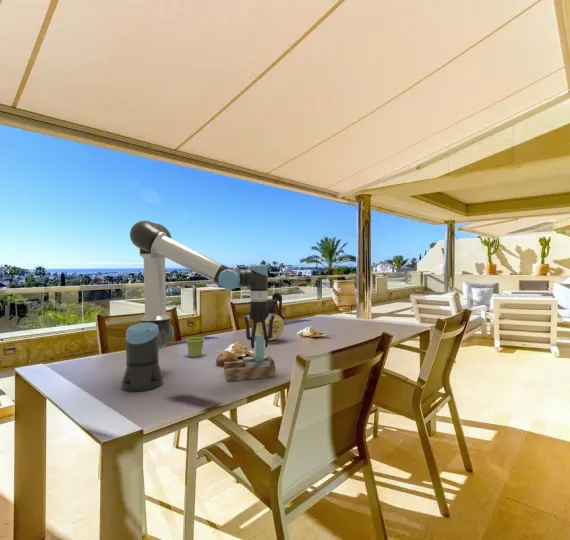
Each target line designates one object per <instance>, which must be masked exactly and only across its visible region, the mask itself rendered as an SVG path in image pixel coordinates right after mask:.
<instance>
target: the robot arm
mask: <svg viewBox="0 0 570 540" xmlns="http://www.w3.org/2000/svg"><path fill="white" fill-rule="evenodd" d="M129 238H130V241H131V242H132V244H133V245H134V246H135V247H137V248H138V249H139V256H140V257H141V258H142V259H143V283H144V284H143V287H144V289H143V290H144V316H143V317H142V318H140V322H139V323H135V324H131V325H130V326H129V327H128V328H127V329H126V333H125V348H126V349H125V353H126V355H125V357H126V358H125V359H126V363H125V365H126V367H125V370H124V373H123V377H122V379H121V389H122V390H124V391H127V392H143V391H144V392H145V391H149V390H154V389H157V388H159V387H160V386H162V385H163V384H164V374H163V372H162V369H161V366H160V364H159V362H160V361H159V357H160V356H159V351H160V350H162V349H164V348H165V347H167V346H168V345H169V344H170V343H171V342H172V340H173V337H174V334H175V330H174V327H173V325H172V324H171V318H170V316H169V315H168V314H167V296H166V295H167V294H166V293H167V290H166V287H167V286H166V259H168V260H171V261H172V262H174V263H176V264H178V265H181V266H182V267H184V268H186V269H188V270H190V271H192V272H194V273H196V274H198V275H200V276H202V277H204V278H206V279H209V280H210V281H211V282H214V283H216V284H217V285H219V286H220V287H222V288H223V289H225V290H233V289H236V288H240V287H241V288H246V287H247V288H248V287H249V300H250V302H249V310H250V311H249V313H248V314H247V315H244V316H243V320H244V322H245V333H246V334H245V335H246V339H247V340H249V341H250V348H251V349H253V350H252V351H253V352H252V354H253V355H252V356H253V357H256V340H255V336H256V334H257V333H256V331H257V329H256V326H257V323H259V322H261V324H262V330H263V335H264V356H266V348H268V344H269V343H268V339H270V338H272V328H273V320H274V318H275V316H274V315H271V314H269V312H268V302H267V301H266V300H267V299H269V295H268V294H269V292H268V290H269V289H268V288H269V287H268V286H269V283H268V282H269V281H268V279H269V274H268V266H267V265H266V264H250V265H249V268H247V269H244V268H243V269H242V268H238V269H237V268H234V269H233V268H231V267H229V266H226V265H224V264H223V263H221V262H218V261H216V260H214V259H212V258H210V257H209V256H206V255H205V254H203V253H201V252H199V251H196V250H195V249H193V248H190V247H189V246H187V245H186V244H185V245H184V244H182V243H181V242H179V241H177V240H174V239H172V234H171V232H170V230H169V229H168V228H167V227H165V226H164V225H163V224H160V223H155V222H154V221H153V222H152V221H150V220H141V221H138V222H136V223H134V224H133V225H132V226H131V228H130V230H129ZM267 317H269V328H268V336H267V331H266V325H265V320H266V319H267ZM250 318H251V320H252V327H251V331H250V324H249V323H250V322H249V321H250ZM250 333H251V334H250Z"/></svg>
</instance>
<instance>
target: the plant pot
mask: <svg viewBox="0 0 570 540" xmlns="http://www.w3.org/2000/svg"><path fill="white" fill-rule="evenodd" d="M185 341H186V344H187V351H188V357H190V358H197V357H201V356H202V352H203V351H202V350H203V345H204V341H205V338H204V337H200V336H199V337H198V336H195V337H188V338H186V339H185Z"/></svg>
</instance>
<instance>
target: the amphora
mask: <svg viewBox="0 0 570 540" xmlns="http://www.w3.org/2000/svg"><path fill="white" fill-rule="evenodd" d="M271 297H272V298H268V299H267V300H266V301H267V302H268V312H269V314H271V315H274V316H275V318H274V320H273V328H272V338H270V339H268V344H276V343H278V338H279V337H280V336H282V334H283V331H284V327H285V322H284V321H285V320H284V319H285V316H284V315H283V313H282V312H283V311H282V309H283V296H282V294H281V293H279V292H274V293H273V294H272V296H271ZM277 304H278V313H276V309H275V308H276V305H277ZM265 325H266V331H267V336H268V328H269V317H267V319H266V320H265ZM256 331H257V334H258V336H263V337H264V335H263V330H262V324H261V322H259V323H257V326H256Z"/></svg>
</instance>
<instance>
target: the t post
mask: <svg viewBox="0 0 570 540" xmlns="http://www.w3.org/2000/svg"><path fill="white" fill-rule="evenodd" d="M254 340H256V357H255V362H256V361H264V337H263V336H260V335H255V339H254Z"/></svg>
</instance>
